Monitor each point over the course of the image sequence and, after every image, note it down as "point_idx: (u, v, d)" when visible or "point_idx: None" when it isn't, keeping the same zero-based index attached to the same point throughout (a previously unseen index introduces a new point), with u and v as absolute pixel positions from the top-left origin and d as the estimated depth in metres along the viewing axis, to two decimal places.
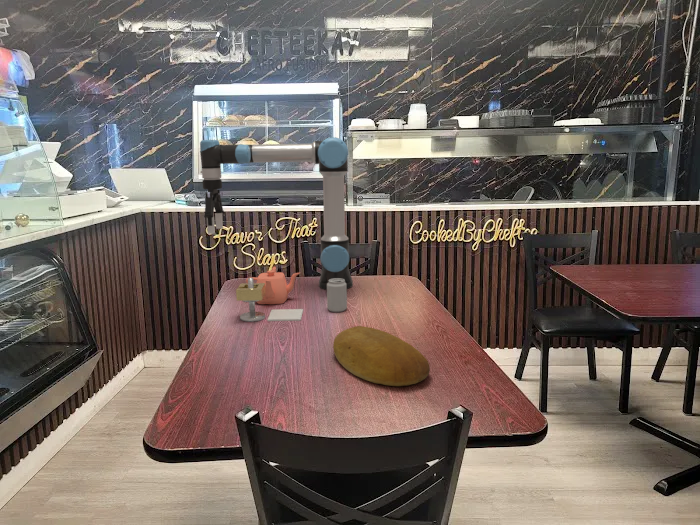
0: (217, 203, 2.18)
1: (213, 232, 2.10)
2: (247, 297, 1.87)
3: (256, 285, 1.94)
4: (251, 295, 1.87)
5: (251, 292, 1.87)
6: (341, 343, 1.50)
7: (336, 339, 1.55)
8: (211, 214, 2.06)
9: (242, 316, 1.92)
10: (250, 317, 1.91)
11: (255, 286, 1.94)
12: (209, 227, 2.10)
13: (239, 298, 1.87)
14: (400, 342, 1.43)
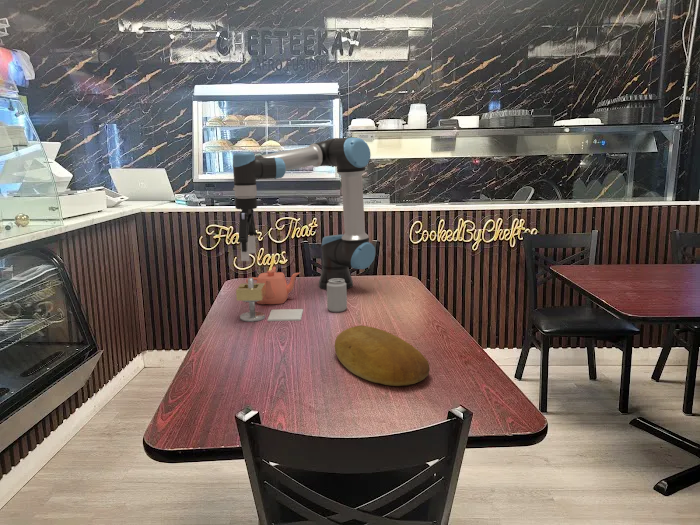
0: (250, 224, 1.90)
1: (247, 259, 1.82)
2: (247, 297, 1.87)
3: (256, 285, 1.94)
4: (251, 295, 1.87)
5: (251, 292, 1.87)
6: (342, 342, 1.51)
7: (337, 338, 1.55)
8: (246, 239, 1.78)
9: (242, 316, 1.92)
10: (250, 317, 1.91)
11: (255, 286, 1.94)
12: (243, 253, 1.81)
13: (239, 298, 1.87)
14: (400, 342, 1.43)
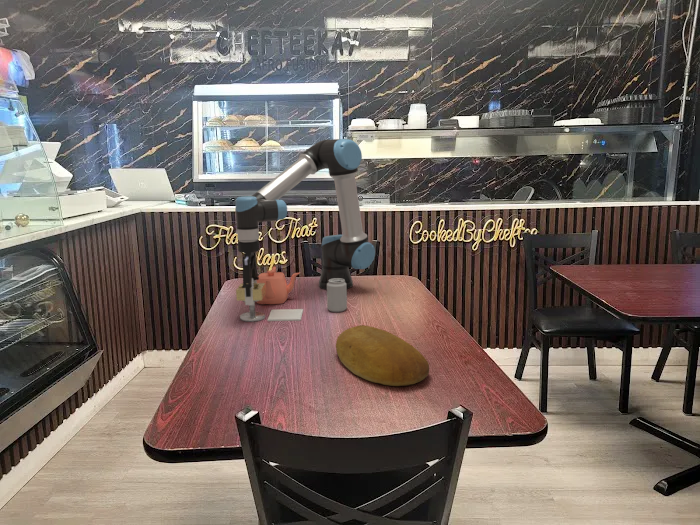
0: (253, 267, 1.92)
1: (251, 303, 1.87)
2: None
3: (256, 285, 1.94)
4: None
5: None
6: (343, 342, 1.51)
7: (339, 338, 1.56)
8: (250, 285, 1.83)
9: (242, 316, 1.92)
10: (250, 317, 1.91)
11: (255, 286, 1.94)
12: (247, 298, 1.87)
13: (239, 298, 1.87)
14: (400, 342, 1.43)
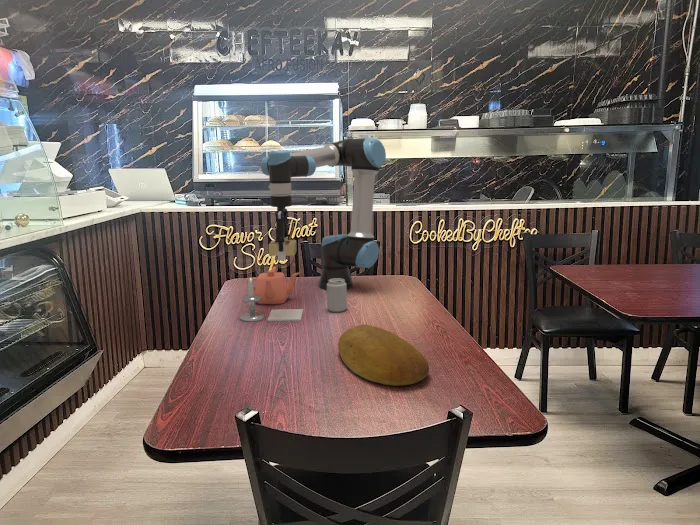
0: (284, 224, 1.91)
1: (284, 258, 1.86)
2: None
3: (287, 242, 1.92)
4: None
5: None
6: (344, 341, 1.52)
7: (341, 337, 1.57)
8: (283, 239, 1.82)
9: (242, 316, 1.92)
10: (250, 317, 1.91)
11: (286, 243, 1.92)
12: (279, 253, 1.85)
13: (271, 253, 1.86)
14: (400, 342, 1.43)
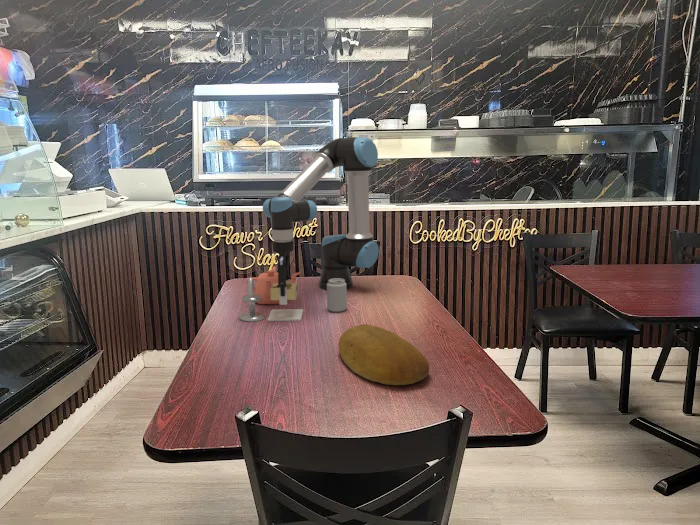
0: None
1: (285, 303, 1.89)
2: None
3: (289, 285, 1.96)
4: None
5: None
6: (345, 340, 1.52)
7: (341, 336, 1.57)
8: (285, 284, 1.85)
9: (242, 316, 1.92)
10: (250, 317, 1.91)
11: (288, 286, 1.96)
12: (281, 297, 1.89)
13: (273, 298, 1.89)
14: (400, 342, 1.43)
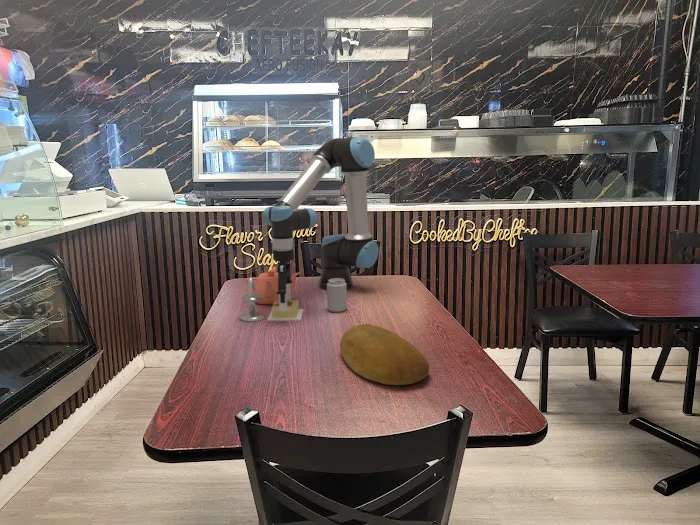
0: None
1: (285, 309, 1.88)
2: (282, 315, 1.91)
3: (290, 302, 1.97)
4: (286, 313, 1.91)
5: None
6: (346, 340, 1.53)
7: (343, 336, 1.57)
8: (285, 291, 1.84)
9: (242, 316, 1.92)
10: (250, 317, 1.91)
11: (289, 303, 1.97)
12: (281, 304, 1.87)
13: (274, 316, 1.91)
14: (401, 342, 1.43)
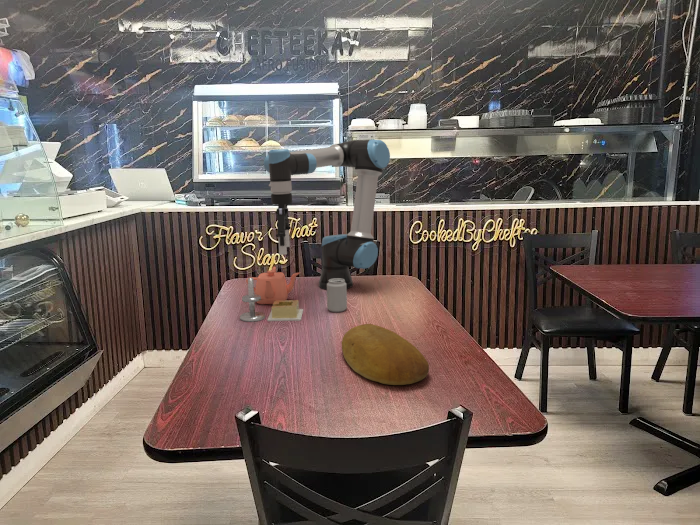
0: (285, 219, 1.96)
1: (285, 253, 1.87)
2: (282, 315, 1.91)
3: (290, 302, 1.97)
4: (286, 313, 1.91)
5: (286, 310, 1.91)
6: (347, 339, 1.53)
7: (344, 335, 1.58)
8: (284, 233, 1.83)
9: (242, 316, 1.92)
10: (250, 317, 1.91)
11: (289, 303, 1.97)
12: (281, 247, 1.87)
13: (274, 316, 1.91)
14: (401, 342, 1.43)
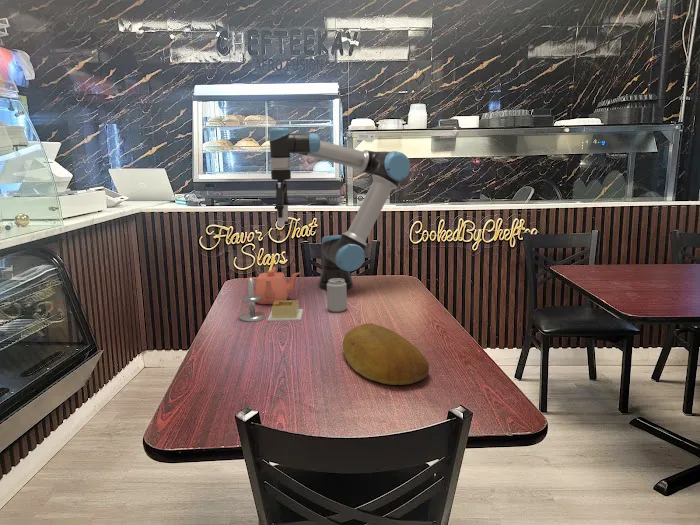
0: (284, 194, 2.10)
1: (283, 224, 2.01)
2: (282, 315, 1.91)
3: (290, 302, 1.97)
4: (286, 313, 1.91)
5: (286, 310, 1.91)
6: (348, 339, 1.54)
7: (346, 335, 1.58)
8: (282, 205, 1.97)
9: (242, 316, 1.92)
10: (250, 317, 1.91)
11: (289, 303, 1.97)
12: (279, 219, 2.01)
13: (274, 316, 1.91)
14: (401, 341, 1.43)
